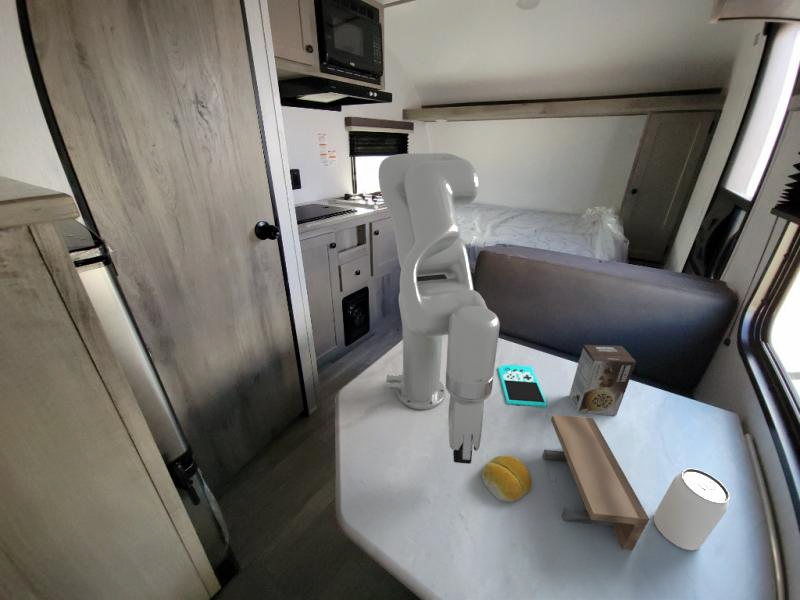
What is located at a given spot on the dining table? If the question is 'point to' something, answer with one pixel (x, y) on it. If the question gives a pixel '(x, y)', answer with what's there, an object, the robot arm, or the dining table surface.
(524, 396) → the handheld game console
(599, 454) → the overhang shelf
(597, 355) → the coffee box
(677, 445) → the dining table surface
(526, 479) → the bread roll
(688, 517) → the can
